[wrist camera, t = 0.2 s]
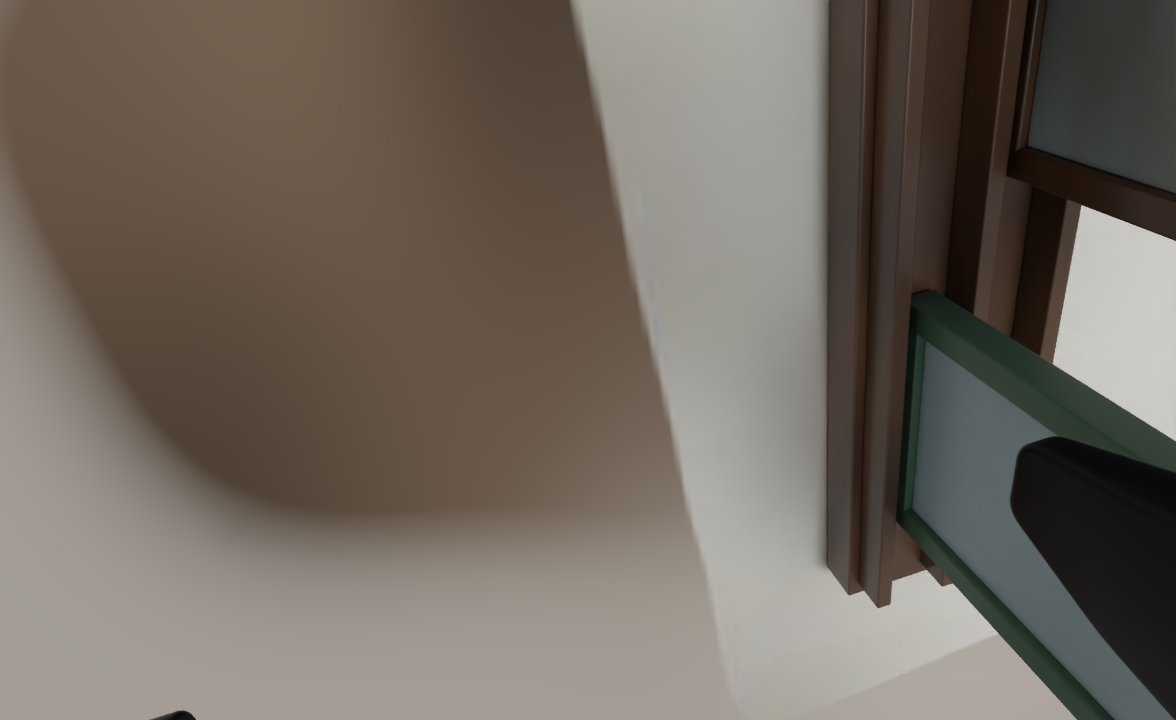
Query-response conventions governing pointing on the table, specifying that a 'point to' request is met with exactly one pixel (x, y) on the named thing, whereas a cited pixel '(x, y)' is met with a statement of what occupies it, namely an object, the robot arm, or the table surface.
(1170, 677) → the robot arm
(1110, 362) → the table surface
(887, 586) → the frame display rack
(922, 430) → the sash
